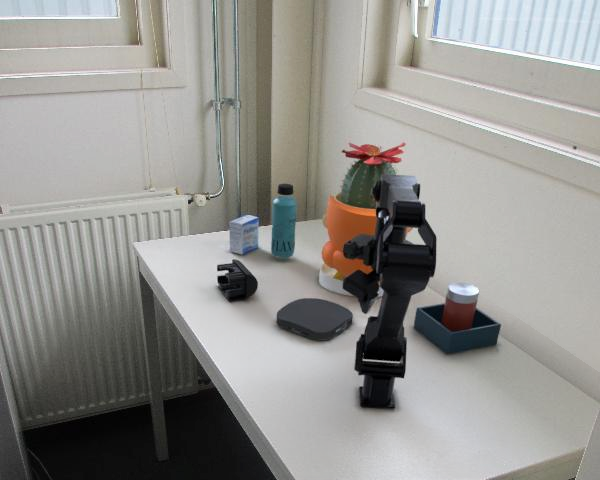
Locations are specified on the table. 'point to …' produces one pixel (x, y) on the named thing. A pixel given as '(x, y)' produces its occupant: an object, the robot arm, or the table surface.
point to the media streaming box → (314, 318)
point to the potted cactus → (354, 213)
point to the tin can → (459, 306)
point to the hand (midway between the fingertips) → (379, 302)
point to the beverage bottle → (283, 222)
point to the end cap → (236, 281)
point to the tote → (453, 342)
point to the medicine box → (244, 234)
